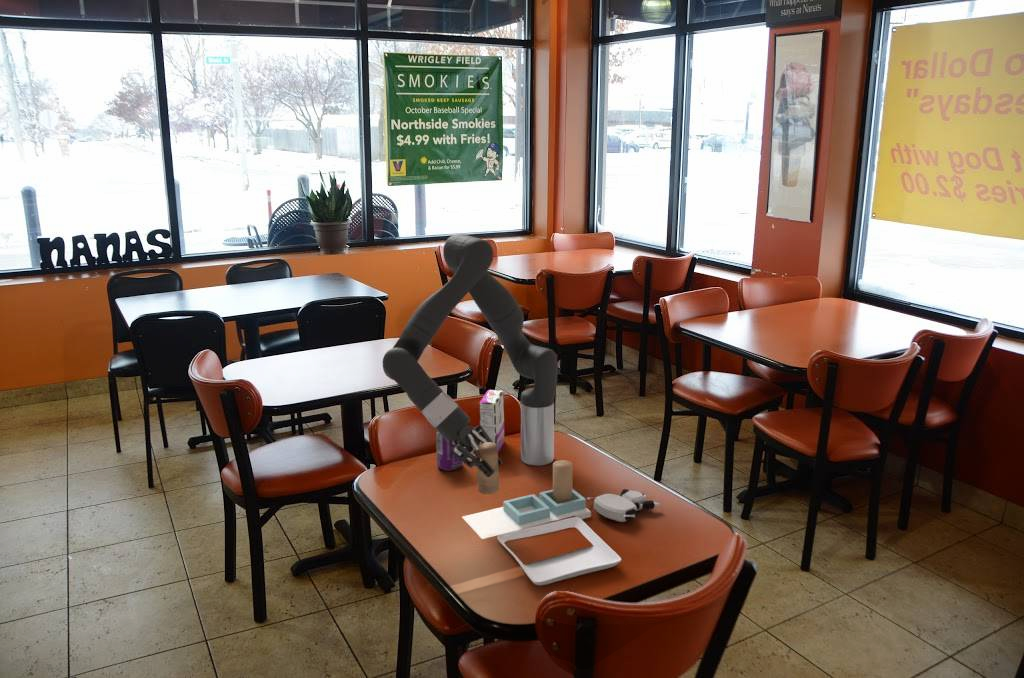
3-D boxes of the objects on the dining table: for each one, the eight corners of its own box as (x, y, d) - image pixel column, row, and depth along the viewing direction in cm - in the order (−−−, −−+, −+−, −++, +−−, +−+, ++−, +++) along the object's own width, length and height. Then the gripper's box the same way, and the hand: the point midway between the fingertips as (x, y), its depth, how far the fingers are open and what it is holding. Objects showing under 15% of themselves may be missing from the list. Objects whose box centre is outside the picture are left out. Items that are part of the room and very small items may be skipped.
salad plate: (534, 596, 167) (534, 581, 166) (495, 547, 186) (495, 534, 185) (623, 573, 175) (624, 558, 174) (577, 528, 194) (578, 515, 193)
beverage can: (461, 472, 224) (460, 431, 221) (436, 472, 224) (434, 431, 221) (463, 461, 231) (462, 421, 228) (438, 461, 231) (437, 422, 228)
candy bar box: (488, 440, 245) (487, 389, 241) (505, 441, 244) (504, 390, 240) (480, 455, 235) (478, 402, 230) (496, 456, 234) (495, 403, 229)
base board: (461, 522, 197) (460, 474, 193) (566, 496, 209) (566, 451, 206) (482, 545, 186) (481, 495, 183) (590, 516, 199) (591, 469, 195)
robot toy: (625, 498, 210) (584, 513, 200) (626, 482, 209) (585, 495, 199) (662, 515, 201) (621, 531, 191) (663, 498, 200) (622, 513, 190)
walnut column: (474, 487, 192) (473, 444, 189) (493, 483, 194) (492, 440, 191) (483, 496, 188) (482, 452, 185) (502, 491, 190) (501, 448, 187)
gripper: (443, 417, 181) (495, 474, 181) (467, 396, 194) (516, 448, 194) (422, 437, 184) (474, 492, 184) (447, 414, 197) (495, 466, 197)
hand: (495, 469), depth 189 cm, fingers closed on walnut column, 4 cm apart
